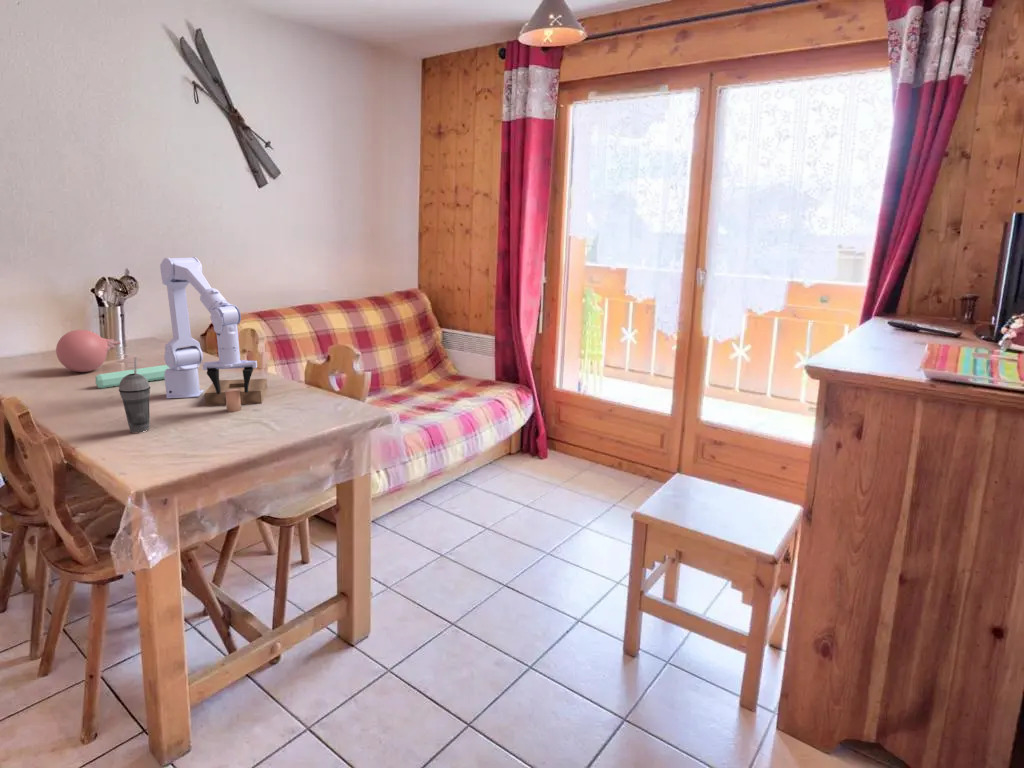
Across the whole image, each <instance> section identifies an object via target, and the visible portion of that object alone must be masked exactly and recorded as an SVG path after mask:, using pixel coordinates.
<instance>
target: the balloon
mask: <svg viewBox="0 0 1024 768" xmlns="http://www.w3.org/2000/svg"><path fill="white" fill-rule="evenodd" d="M117 345H121V341H119V340H114V339H113V338H105V337H104V338H103V337H101V336H100V335H99V334H97V333H95V332H93V331H91V330H87V329H74V330H71V331H69V332H66V333H65V334H63V335H62V336H61V337H60V339H59V340H58V341H57V344H56V348H55V353H56V356H57V357H56V358H57V360H58V361H59V362H60V363H61V364H62V366H63V367H65V368H66V369H67V370H69V371H73V372H77V373H87V372H92V371H94V370H97V369H98V368H99V367H101V366H102V365H103V364H104V362H105V361H106V359H107V356H108V353H109V351H110V350H112V349H115V348H116V346H117Z"/></svg>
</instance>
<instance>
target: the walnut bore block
mask: <svg viewBox="0 0 1024 768" xmlns="http://www.w3.org/2000/svg"><path fill="white" fill-rule="evenodd" d="M219 382H220V388H221V392H220V394H217V392H216V389H215V386H214V384H213V382H212V383H211V384H210V386H209V387H208V388H207V389H206V390H205V392H204V401H205V406H206V407H207V406H209V407H210V406H226V396H225V391H226V390H229V389H239V390H240V399H241V405H248V404H247V403H257V404H262V403H263V401H264V399H265V397H266V395H267V393H268V391H267V389H268V387H269V386H268V378H250V381H249V386H248V392H247V393H245V391H244V378H243V379H224V380H222V379H219ZM268 390H269V389H268ZM266 392H267V393H266ZM265 394H266V395H265ZM264 396H265V397H264ZM263 398H264V399H263Z"/></svg>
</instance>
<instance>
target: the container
mask: <svg viewBox="0 0 1024 768" xmlns="http://www.w3.org/2000/svg"><path fill="white" fill-rule="evenodd" d="M166 369H170V368H169V367H168V366H167V365H166V364H163V365H156V366H155V365H154V366H148V367H141V368H137V374H140V375H142V376H144V377H145V378H146V379H147V381H150V382H154V380H156V381H162V379H163V380H165V370H166ZM128 374H134V368H133V369H126V370H119V371H113V372H106V373H99V374H97V375H96V376H95V384H96V387H97V388H99V389H107V387H109V388H114V387H113V386H116V387H119V384H120V382H121V380H122V379H123V378H124V377H125V376H126V375H128Z"/></svg>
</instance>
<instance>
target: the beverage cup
mask: <svg viewBox="0 0 1024 768" xmlns="http://www.w3.org/2000/svg"><path fill="white" fill-rule="evenodd" d="M133 363H134V366H133V367H134V368H133V369H134V374H128V375H126V376H125V377H124V378H123V379H122V380H121V382H120V384H119V386H118V387H119V388H118V392H119V395H120V398H121V399H122V404H123V408H124V411H125V416H126V420H127V425H128V428H129V430H130V431H131V432H143V431H146V430H149V429H150V425H151V424H150V422H151V421H150V420H151V419H150V417H151V416H150V394H151V386H150V384H149V382H148V381H147V379H146V378H145V377H144V376H142V375H140V374H137V369H138V368H137V363H138V362H137V357H134V362H133ZM130 431H129V432H130ZM149 431H150V430H149ZM131 432H130V433H131ZM146 432H147V431H146ZM143 433H144V432H143Z"/></svg>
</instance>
